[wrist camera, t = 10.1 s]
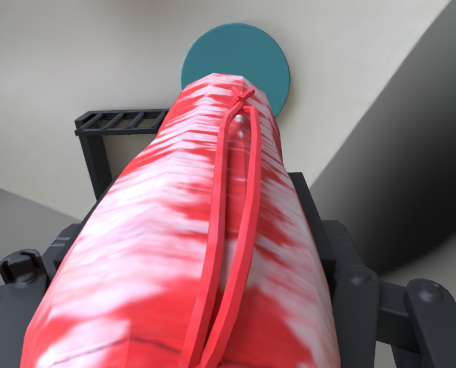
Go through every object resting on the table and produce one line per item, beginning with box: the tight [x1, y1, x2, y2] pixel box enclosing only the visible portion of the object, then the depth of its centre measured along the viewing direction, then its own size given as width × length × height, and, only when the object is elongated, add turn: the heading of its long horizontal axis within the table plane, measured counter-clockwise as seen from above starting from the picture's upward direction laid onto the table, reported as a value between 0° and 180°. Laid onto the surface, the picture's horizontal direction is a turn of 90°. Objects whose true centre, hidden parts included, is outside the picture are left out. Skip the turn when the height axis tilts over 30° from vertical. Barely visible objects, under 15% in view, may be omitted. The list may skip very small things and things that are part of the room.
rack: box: [74, 109, 170, 201], centre depth 41 cm, size 12×15×7 cm
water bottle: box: [20, 73, 341, 368], centre depth 15 cm, size 12×8×25 cm, turn 159°
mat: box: [181, 24, 290, 118], centre depth 38 cm, size 13×13×1 cm
